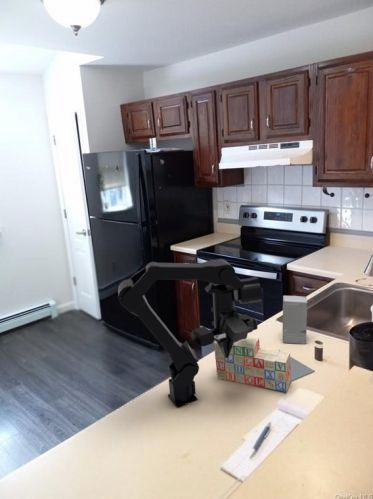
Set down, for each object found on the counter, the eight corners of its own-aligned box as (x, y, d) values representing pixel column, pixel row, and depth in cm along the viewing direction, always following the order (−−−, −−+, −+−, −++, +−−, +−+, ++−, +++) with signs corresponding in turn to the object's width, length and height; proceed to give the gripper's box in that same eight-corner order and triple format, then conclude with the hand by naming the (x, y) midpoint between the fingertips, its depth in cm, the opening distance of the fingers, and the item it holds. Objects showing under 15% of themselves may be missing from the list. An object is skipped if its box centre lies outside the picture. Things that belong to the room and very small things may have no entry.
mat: (279, 386, 108) (279, 385, 108) (245, 363, 122) (245, 362, 122) (314, 371, 114) (314, 370, 114) (279, 350, 128) (279, 349, 128)
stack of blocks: (291, 380, 110) (290, 342, 107) (286, 392, 105) (285, 353, 102) (224, 367, 120) (221, 332, 117) (216, 378, 115) (213, 341, 112)
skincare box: (282, 343, 133) (282, 301, 129) (282, 334, 140) (281, 294, 136) (307, 344, 131) (307, 302, 127) (306, 335, 138) (306, 294, 134)
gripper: (210, 324, 91) (213, 381, 95) (269, 306, 100) (270, 359, 103) (188, 310, 101) (192, 362, 105) (244, 295, 109) (246, 343, 113)
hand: (226, 357), depth 106 cm, fingers closed
